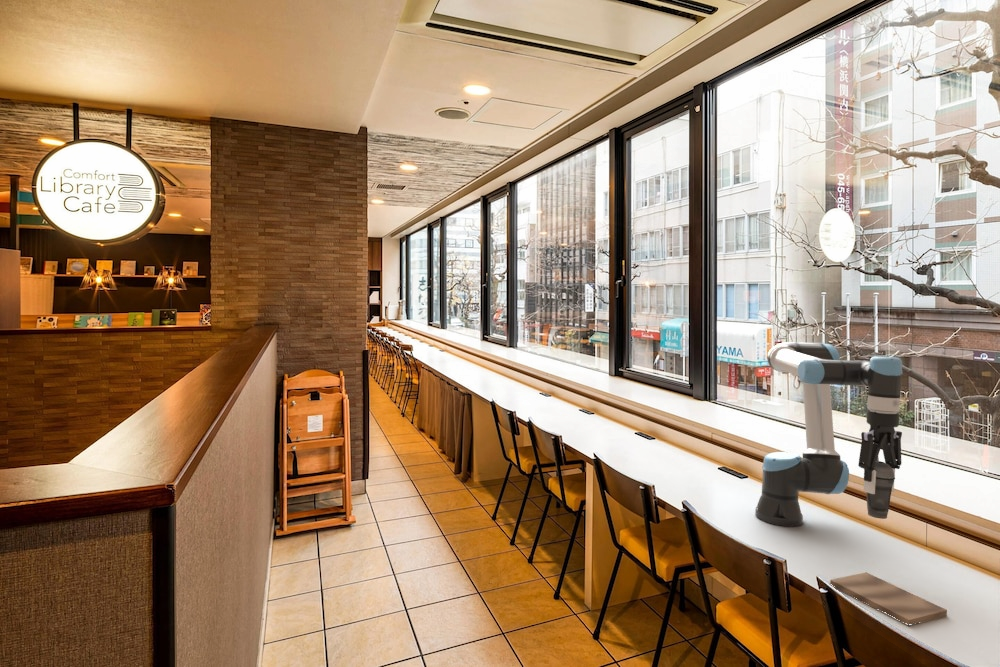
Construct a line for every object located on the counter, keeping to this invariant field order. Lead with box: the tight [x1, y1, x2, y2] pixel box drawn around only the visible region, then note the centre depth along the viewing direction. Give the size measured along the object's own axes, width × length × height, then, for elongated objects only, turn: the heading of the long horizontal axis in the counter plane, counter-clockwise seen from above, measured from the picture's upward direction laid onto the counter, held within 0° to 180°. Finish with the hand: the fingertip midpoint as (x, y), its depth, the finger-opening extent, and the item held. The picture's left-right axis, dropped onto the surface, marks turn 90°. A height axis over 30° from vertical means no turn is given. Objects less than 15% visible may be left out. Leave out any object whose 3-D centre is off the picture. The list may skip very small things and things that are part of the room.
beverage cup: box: [865, 457, 896, 520], centre depth 154 cm, size 7×7×20 cm
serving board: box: [829, 572, 948, 625], centre depth 139 cm, size 20×14×2 cm
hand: (878, 491), depth 154 cm, fingers closed on beverage cup, 7 cm apart
